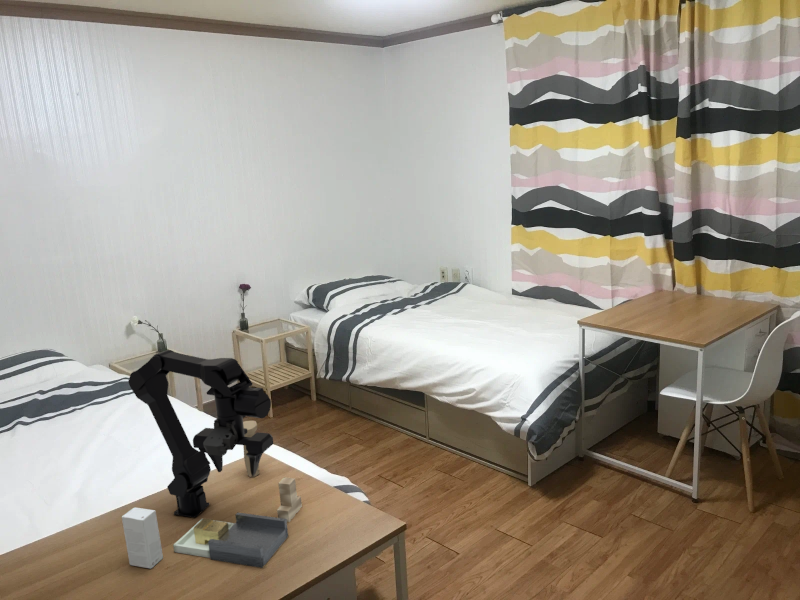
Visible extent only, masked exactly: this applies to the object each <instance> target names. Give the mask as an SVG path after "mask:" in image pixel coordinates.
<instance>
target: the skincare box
mask: <svg viewBox="0 0 800 600" xmlns="http://www.w3.org/2000/svg"><path fill="white" fill-rule="evenodd" d="M121 521H122V527H123V533H124V539H125V545H126V551H127V556H128V563H129V565H130V566H133V567H134V566H135V567H140V568H143V569H144V568H146V569H150V570H151V569H153V568H154V567H155V566H156V565H157V564H158V563H159V562H161V560H162V559H164V555H163V550H162V542H161V536H160V531H159V523H158V518H157V512H156V510H155V509H149V508H142V507H141V508H140V507H133V508H131V509H130V510H128V511H127V512H126V513H124V514H123V515H122V516H121Z"/></svg>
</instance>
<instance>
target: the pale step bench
mask: <svg viewBox="0 0 800 600" xmlns="http://www.w3.org/2000/svg"><path fill="white" fill-rule="evenodd" d="M278 490H279V491H278V492H279V499H280V506H279V507H278V508H277V509H276V513H277V518H283V519H287V523H290V522H291V521H292V520H293V518H294V517H295V516H296V515H297V514H298V512H299V511H300V510H301V509H302V508H303V505H302V503H303V502H302V496H301V495H297V484H296V478H295V477H294V478H293V477H283V478H282V479H281V480H280V481H279V482H278ZM301 507H302V508H301ZM300 508H301V509H300ZM296 513H297V514H296ZM295 514H296V515H295ZM291 519H292V520H291Z"/></svg>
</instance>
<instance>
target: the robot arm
mask: <svg viewBox="0 0 800 600" xmlns="http://www.w3.org/2000/svg"><path fill="white" fill-rule="evenodd" d="M169 373H174V374H179V375H182V376H183V375H184V376H189V377H193V378H196V379H200V380H201V381H202V382H203V384H204V385H205V386H208V387H210V388H209V389H208V390H207V391H206V395H209V396H214V404H215V412H216V417H217V418H216V419H214V421H213V422H214V423H213V428H211V427H204V429H202V430H200V431H199V432H197V433H196V434H195V435H194V436H193V439H192V444H191V442H190V439H189V438H188V436H187V434H186V432H185V429H184V427H183V425H182V423H181V421H180V419H179V417H178V414H177V413H176V411H175V409H174V407H173V404H172V403H171V400H170V399H169V396H168V393H169V381H168V378H167V375H169ZM236 382H237V383H236ZM234 383H235V384H234ZM128 385H129V388H130V389H131V390H132V392H133V394H134V395H135V397H136V399H138V400H140V401H141V402H143V403H144V404H146V405H147V406H148V407H149V410H150V412H151V414H152V416H153V418H154V420H155V422H156V425H157V427H158V429H159V431H160V433H161V435H162V438H163V439H164V441H165V443H166V445H167V448H168V450H169V452H170V454H171V456H172V463H171V471H172V475H173V477H174V478H173V479H172V481H171V482H169V484H168V485H167V490H168V493H169V494H170V495H171V496H175V499H176V500H175V501H176V506H177V507H176V508H177V509H176V510H175V511H174V512H173V515H174V516H180V517H187V518H197V517H198V516H199V515H201V513H203V511H204V510H206V509H207V508H208V507H209V506H210V504H211V503H210V502H207V497H206V496H207V495H206V492H205V491H204V485H203V484H204V483H207V482H208V479H209V476H210V473H211V466H210V464H211V462H212V463H213V465H214V467H215V468H216V470H217V472H218V473H221V472H222V471H223V466H224V465H223V462H224V459H223V456H225V455H226V454H227V452H228V450H229V451H233V450H234V448H235V447H236V445H237V446H238V445H239V446H243V445H246V450H247V451H248V453H247V454H246V455H247V456H248V457H249V460H250V470H251V474H252V476H254V475H255V474H256V471H257V468H258V465H259V466H260V460H261V459H262V456H263V453H265V452H266V451H267V450H268V449H270V448H271V446H273V445H274V437H273V435H272V434H271V433H270V432H269V433H268V432H257V431H256V432H255V434H254V435H253V436H252V437H245V434H246V433H247V429H246V428H244V425H243V422H244V418H246V417H248V418H249V417H250V418H257V419H265V418H266V417H267V416H268V415H269V412H270V411H271V406H272V404H271V403H272V401H271V398H270V397H269V394H267V393H265V392H264V388H263V387H251V386H252V385H253V382H252V381H251V379H250V377H249V376H248V375H247V373H246V372H245V371H244V369H243V367H242V366H241V365H240V363H239V361H237V359H236V358H234V357H219V358H213V359H211V358H209V359H208V358H207V359H206V358H203V357H199V356H193V355H189V354H184V353H179V352H175V351H173V350H171V349H166V350H163V351H160V352H158V353H156V354H154V355H153V356H152V357H151V358H150V359H149V360H148V361H147V362H146V363H144V364H143V365H142V366H140V367H139V368H138V369H137V370H135V371H134V370H133V371H132V372H131V373H130V375H129V379H128ZM230 385H232V386H230ZM206 454H207V455H208V457H209V458H210V460H211V461H209V460H208V457H207V455H206Z"/></svg>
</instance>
